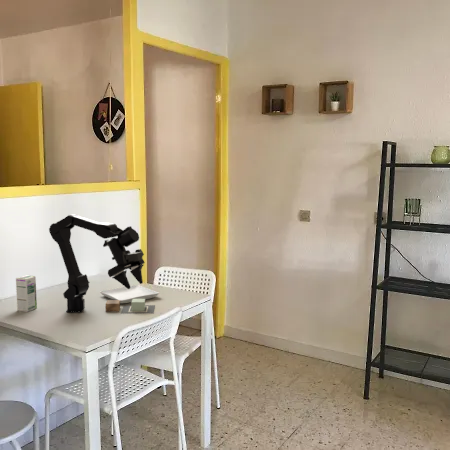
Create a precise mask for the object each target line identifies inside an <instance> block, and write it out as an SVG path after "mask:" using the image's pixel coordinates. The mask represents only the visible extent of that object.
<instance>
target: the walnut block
mask: <svg viewBox="0 0 450 450" xmlns="http://www.w3.org/2000/svg"><path fill="white" fill-rule="evenodd" d="M120 309H121V303H120V300H112V299H107V300H106V302H105V312H119V311H120Z"/></svg>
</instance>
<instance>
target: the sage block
mask: <svg viewBox="0 0 450 450" xmlns="http://www.w3.org/2000/svg"><path fill="white" fill-rule="evenodd" d="M130 303H131V311H144V310H145V305H146V299H132V302H130Z"/></svg>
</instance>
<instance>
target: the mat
mask: <svg viewBox="0 0 450 450" xmlns="http://www.w3.org/2000/svg"><path fill="white" fill-rule="evenodd" d="M155 309H156V305H155V304H152V305H151V304H150V305H147V304H145V310H144V311H131V305H130V304H129V305H128V304H125V305H123V306H122V309H121V311H120V314H123V315H125V314H127V315H128V314H130V315H131V314H134V315H137V314H138V315H139V314H141V315H142V314H145V315H147V314H154V313H155Z"/></svg>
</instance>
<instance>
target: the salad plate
mask: <svg viewBox="0 0 450 450" xmlns="http://www.w3.org/2000/svg"><path fill="white" fill-rule="evenodd" d="M130 287H131V288H130V289H127V288H126V287H125V286H120V287H115V288H109V289H105V290H104V289H103V290H100V291H99V293H100V294H101V295H102V296H104V297H106V298H108V299H109V300H120V304H129V303H131V302H132V299H145V300H149V299H153V298H155V297H157V296H158V295H159V294H160V292H158V291H155V290H154V289H153V290H152V289H150V288H148V287H144V286H142V285H139V284H135V285H134V284H133V285H130Z"/></svg>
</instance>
